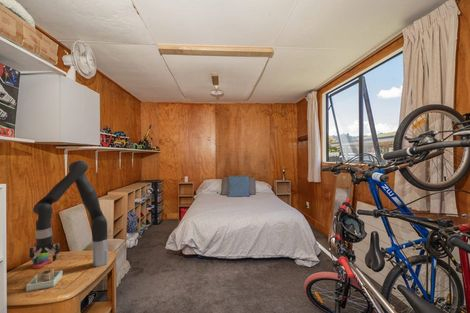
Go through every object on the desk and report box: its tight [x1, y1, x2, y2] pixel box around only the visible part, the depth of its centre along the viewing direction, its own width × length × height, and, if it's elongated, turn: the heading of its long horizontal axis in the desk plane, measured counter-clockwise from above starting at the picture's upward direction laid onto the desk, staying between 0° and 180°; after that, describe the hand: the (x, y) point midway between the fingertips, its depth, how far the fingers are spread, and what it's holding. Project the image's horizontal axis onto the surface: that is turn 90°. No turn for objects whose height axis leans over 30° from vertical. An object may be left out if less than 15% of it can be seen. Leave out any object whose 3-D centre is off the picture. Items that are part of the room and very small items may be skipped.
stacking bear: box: [31, 241, 54, 270], centre depth 160 cm, size 11×10×18 cm
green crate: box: [25, 269, 64, 293], centre depth 136 cm, size 13×13×4 cm
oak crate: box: [36, 268, 55, 283], centre depth 136 cm, size 6×6×6 cm
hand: (45, 262), depth 136 cm, fingers open, 8 cm apart
